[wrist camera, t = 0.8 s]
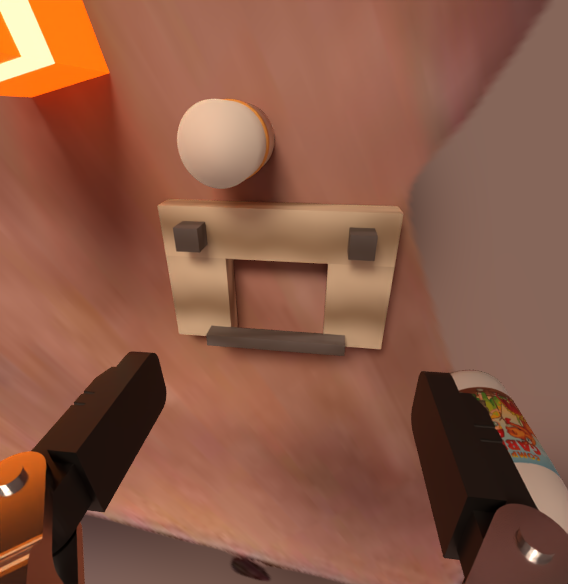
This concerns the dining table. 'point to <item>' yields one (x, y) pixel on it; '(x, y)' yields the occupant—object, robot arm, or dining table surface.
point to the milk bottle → (519, 443)
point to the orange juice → (46, 46)
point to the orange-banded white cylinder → (224, 141)
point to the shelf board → (288, 248)
